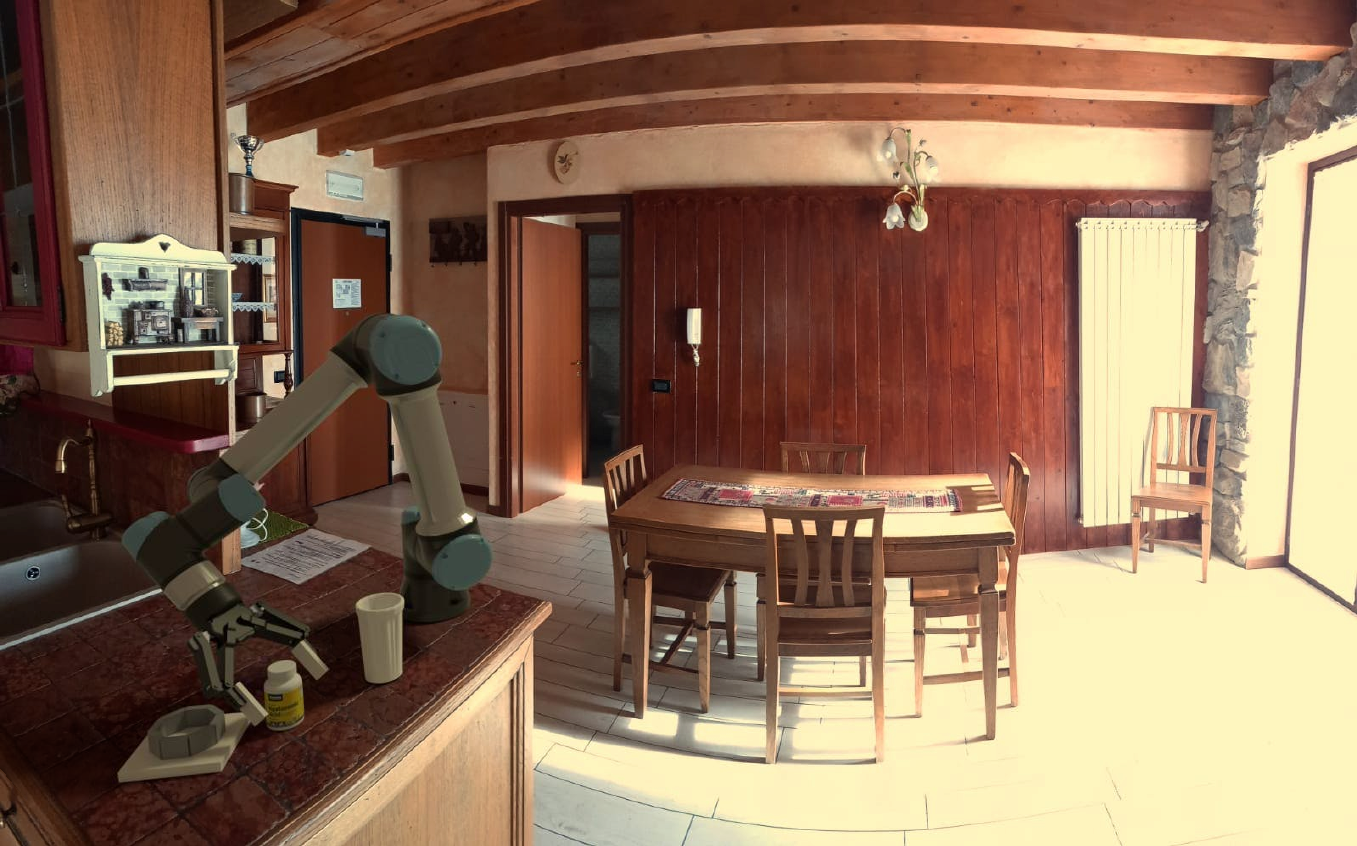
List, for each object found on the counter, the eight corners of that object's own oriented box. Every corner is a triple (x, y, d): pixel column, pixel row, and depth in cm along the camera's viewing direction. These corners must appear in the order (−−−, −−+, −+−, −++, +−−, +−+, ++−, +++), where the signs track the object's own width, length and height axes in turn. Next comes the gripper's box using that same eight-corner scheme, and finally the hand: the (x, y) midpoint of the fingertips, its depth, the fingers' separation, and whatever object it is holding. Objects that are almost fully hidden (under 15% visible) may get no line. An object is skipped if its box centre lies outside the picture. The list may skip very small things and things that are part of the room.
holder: (251, 719, 120) (249, 694, 119) (221, 771, 108) (218, 743, 107) (160, 728, 117) (157, 702, 116) (118, 782, 105) (115, 753, 104)
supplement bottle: (265, 734, 116) (260, 677, 115) (268, 716, 121) (263, 660, 119) (303, 727, 118) (299, 670, 117) (305, 709, 123) (301, 654, 122)
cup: (392, 690, 130) (388, 613, 127) (349, 685, 131) (345, 608, 128) (416, 667, 137) (413, 594, 135) (376, 662, 139) (372, 590, 136)
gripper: (252, 580, 132) (332, 670, 131) (120, 646, 108) (217, 756, 108) (276, 555, 130) (357, 646, 129) (146, 616, 106) (245, 728, 105)
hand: (294, 696), depth 118 cm, fingers open, 13 cm apart
